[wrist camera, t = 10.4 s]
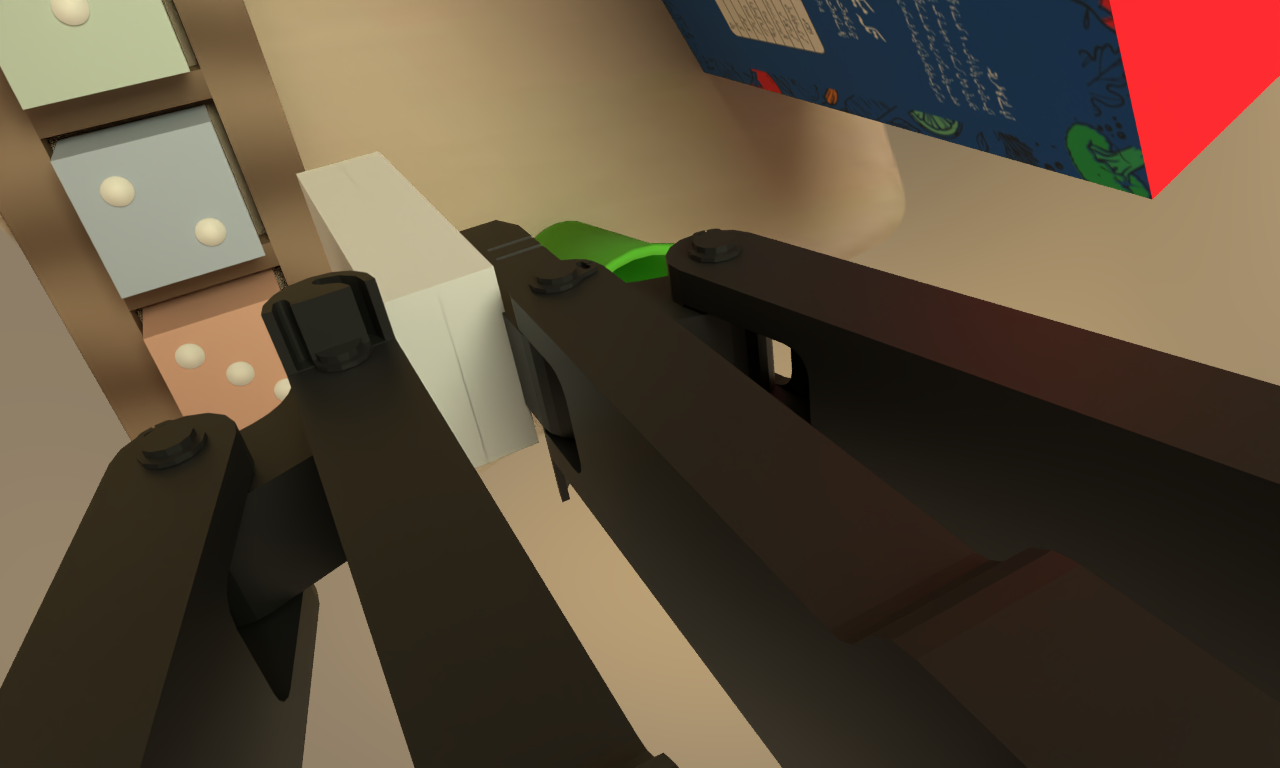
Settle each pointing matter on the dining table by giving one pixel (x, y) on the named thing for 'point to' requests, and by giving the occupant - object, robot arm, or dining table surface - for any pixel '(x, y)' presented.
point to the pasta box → (1011, 71)
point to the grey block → (157, 199)
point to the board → (60, 246)
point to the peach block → (219, 349)
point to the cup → (606, 250)
